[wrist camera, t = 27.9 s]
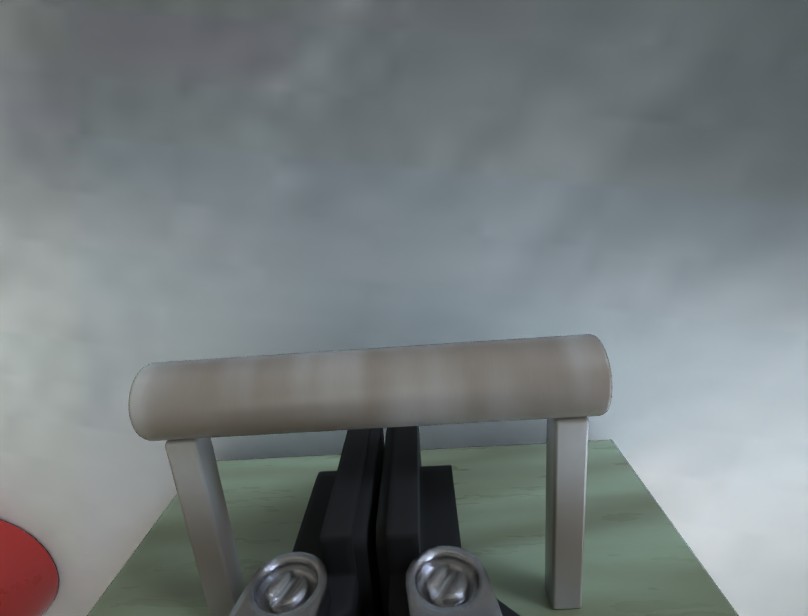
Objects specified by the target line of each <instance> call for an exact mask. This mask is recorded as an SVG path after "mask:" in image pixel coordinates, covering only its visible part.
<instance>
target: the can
mask: <svg viewBox="0 0 808 616" xmlns="http://www.w3.org/2000/svg"><path fill="white" fill-rule="evenodd" d="M58 583H59V580H58V573H57V570H56V567H55V564H54V562H53V560H52V558H51V557H50V555H49V554H48V552H47V551H46V550H45V549H44V547H43V546H42V545H41V544H40V543H39V542H38V541H37V540H36V539H34V538H33V537H32V536H31V535H29V534H28V533H26V532H25V531H23V530H22V529H20V528H18V527H16V526H14V525H12V524H10V523H8V522H5V521H2V520H0V616H42V615H43V614H44V613H45V611H46V610H47V609H48V608H49V607H50V605H51V604H52V602H53V601H54V599H55V597H56V594H57V591H58Z"/></svg>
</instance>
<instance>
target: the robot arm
mask: <svg viewBox="0 0 808 616" xmlns="http://www.w3.org/2000/svg"><path fill="white" fill-rule="evenodd" d="M229 616H520V615H519V614H517V613H516V612H514V611H513V610H512V609H510V608H509V607H508V606H506V605H505V604H504V603H502V602H501V601H500V600H498V599H497V598H496V596H495V593H494V590H493V588H492V585H491V582H490V579H489V576H488V574H487V571H486V569H485V567H484V566H483V564H482V562H481V561H480V560H479V559H478V558H477V557H476V556H475V555H474V554H473V553H471V552H469V551H467V550H465V549H463V548H461V540H460V532H459V523H458V515H457V507H456V498H455V490H454V482H453V473H452V466H451V465H439V466H422V465H421V452H420V438H419V426H407V427H390V428H387V432H386V441H385V444H384V434H383V428H372V429H354V430H348V431H347V435H346V438H345V442H344V446H343V450H342V454H341V457H340V461H339V465H338V469H337V471H320V472H319V473H318V475H317V477H316V480H315V483H314V487H313V490H312V493H311V496H310V499H309V502H308V505H307V508H306V511H305V514H304V517H303V520H302V524H301V527H300V530H299V533H298V536H297V539H296V542H295V545H294V548H293V551H292V552H290V553H286V554H283V555H279V556H277V557H275V558H273V559H271V560H269V561H268V562H266V563H265V564H264V565H263V566H261V567H260V568H259V569H258V570H257V571H256V572H255V573H254V575H253V576H252V577H251V579H250V580H249V582H248V583H247V585H246V587H245V589H244V590H243V592H242V594H241V596H240V597H239V599H238V601H237V603H236V604H235V606H234V608H233V610H232V611H231V613H230V615H229Z"/></svg>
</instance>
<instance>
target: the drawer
mask: <svg viewBox="0 0 808 616" xmlns="http://www.w3.org/2000/svg"><path fill="white" fill-rule="evenodd" d="M611 398H612V375H611V369H610V364H609V360H608V357H607V353H606V351H605V348H604V346H603V344H602V343H601V341H600V340H599V339H598V338H597V337H596V336H594V335H591V334H585V335H570V336H554V337H539V338H524V339H508V340H493V341H477V342H462V343H447V344H431V345H416V346H401V347H385V348H370V349H354V350H339V351H324V352H308V353H293V354H278V355H262V356H247V357H231V358H216V359H201V360H185V361H170V362H155V363H151V364H148V365H147V366H145V367H143V368H142V369H141V370H140V371H139V372H138V374H137V375H136V377H135V379H134V381H133V383H132V386H131V390H130V394H129V416H130V420H131V423H132V426H133V428H134V430H135V431H136V433H137V434H138V435H139V436H140V437H142V438H144V439H146V440H149V441H159V440H167V442H166V444H165V447H166V451H167V455H168V459H169V462H170V466H171V470H172V474H173V478H174V481H175V485H176V489H177V495H176V496H175V497H174V499H173V500H172V501H171V503H170V504H169V505H168V507H167V508H166V510H165V511H164V512H163V514H162V515H161V516H160V518H159V519H158V520H157V522H156V523H155V524H154V526H153V527H152V528H151V530H150V531H149V533H148V534H147V535H146V537H145V538H144V539H143V541H142V542H141V543H140V545H139V546H138V547H137V549H136V550H135V551H134V553H133V554H132V556H131V557H130V558H129V560H128V561H127V562H126V564H125V565H124V566H123V568H122V569H121V570H120V572H119V573H118V574H117V576H116V577H115V579H114V580H113V581H112V583H111V584H110V585H109V587H108V588H107V589H106V591H105V592H104V593H103V595H102V596H101V597H100V599H99V600H98V602H97V603H96V604H95V606H94V607H93V608H92V610H91V611H90V612H89V614H88V615H87V616H229V615H230V613H231V611H232V610H233V608H234V606H235V604H236V603H237V601H238V599H239V597H240V596H241V594H242V592H243V590H244V589H245V587H246V585H247V583H248V582H249V580H250V579H251V577H252V576H253V575H254V573H255V572H256V571H257V570H258V569H259V568H260V567H261V566H263V565H264V564H265V563H266V562H268V561H269V560H271V559H273V558H275V557H277V556H279V555H283V554H286V553H290V552H292V551H293V548H294V545H295V542H296V539H297V536H298V533H299V530H300V527H301V524H302V520H303V517H304V514H305V511H306V508H307V505H308V502H309V499H310V496H311V493H312V490H313V487H314V483H315V480H316V477H317V475H318V473H319V472H320V471H337V469H338V465H339V461H340V457H341V454H338V455H319V456H301V457H282V458H264V459H245V460H227V461H216V458H215V454H214V450H213V445H212V441H211V438H212V437H230V436H248V435H266V434H283V433H301V432H319V431H336V430H354V429H372V428H390V427H407V426H425V425H443V424H460V423H478V422H496V421H514V420H531V419H547V438H546V443H542V444H524V445H505V446H487V447H468V448H449V449H431V450H420V452H421V465H422V466H439V465H451V466H452V473H453V482H454V490H455V498H456V507H457V515H458V523H459V532H460V540H461V548H463V549H465V550H467V551H469V552H471V553H473V554H474V555H475V556H476V557H477V558H478V559H479V560H480V561H481V562H482V564H483V566H484V567H485V569H486V571H487V574H488V576H489V579H490V582H491V585H492V588H493V590H494V593H495V596H496V598H497V599H498V600H500V601H501V602H502V603H504V604H505V605H506V606H508V607H509V608H510V609H512V610H513V611H514V612H516V613H517V614H519V615H520V616H739V615H738V614H737V612H736V611H735V610H734V608H733V607H732V606H731V604H730V603H729V601H728V600H727V599H726V597H725V596H724V594H723V593H722V592H721V590H720V589H719V588H718V586H717V585H716V583H715V582H714V581H713V579H712V578H711V576H710V575H709V574H708V572H707V571H706V570H705V568H704V567H703V565H702V564H701V563H700V561H699V560H698V558H697V557H696V556H695V554H694V553H693V552H692V550H691V549H690V547H689V546H688V545H687V543H686V542H685V540H684V539H683V538H682V536H681V535H680V534H679V532H678V531H677V529H676V528H675V527H674V525H673V524H672V523H671V521H670V520H669V518H668V517H667V516H666V514H665V513H664V511H663V510H662V509H661V507H660V506H659V505H658V503H657V502H656V500H655V499H654V498H653V496H652V495H651V493H650V492H649V491H648V489H647V488H646V487H645V485H644V484H643V482H642V481H641V480H640V478H639V477H638V475H637V474H636V473H635V471H634V470H633V469H632V467H631V466H630V464H629V463H628V462H627V460H626V459H625V457H624V456H623V455H622V453H621V452H620V451H619V449H618V448H617V446H616V445H615V444H614V442H613V441H612V440H598V441H588V432H589V420H588V418H587V416H600V415H603V414H604V413H606V412H607V411H608V409H609V406H610V403H611Z"/></svg>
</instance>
